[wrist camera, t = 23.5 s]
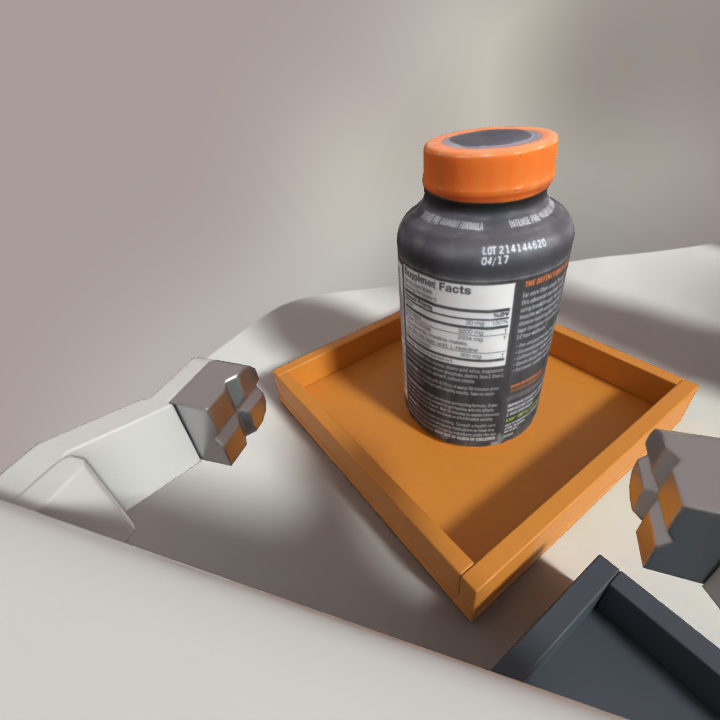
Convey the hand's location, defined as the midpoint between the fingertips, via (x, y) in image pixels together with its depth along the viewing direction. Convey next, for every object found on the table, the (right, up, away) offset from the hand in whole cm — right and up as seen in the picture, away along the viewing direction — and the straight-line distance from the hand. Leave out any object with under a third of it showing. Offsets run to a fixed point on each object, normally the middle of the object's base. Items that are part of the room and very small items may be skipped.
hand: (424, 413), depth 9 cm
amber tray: (+4, -1, +11) cm, 12 cm away
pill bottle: (+4, -1, +11) cm, 11 cm away
